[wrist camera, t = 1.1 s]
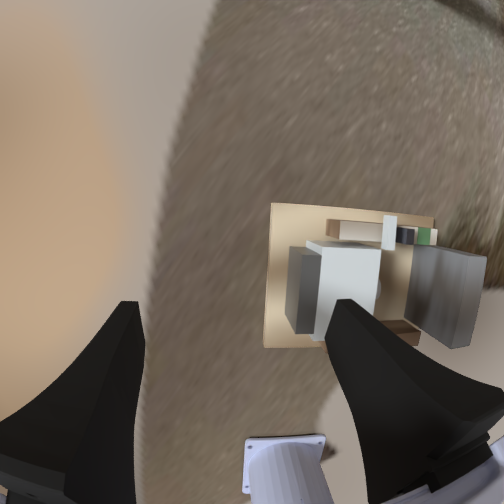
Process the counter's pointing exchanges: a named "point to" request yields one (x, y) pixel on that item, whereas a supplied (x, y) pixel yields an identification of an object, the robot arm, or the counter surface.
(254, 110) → the counter surface
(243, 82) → the counter surface
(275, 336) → the stand
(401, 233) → the dark navy block
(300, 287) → the light grey block
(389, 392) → the robot arm
